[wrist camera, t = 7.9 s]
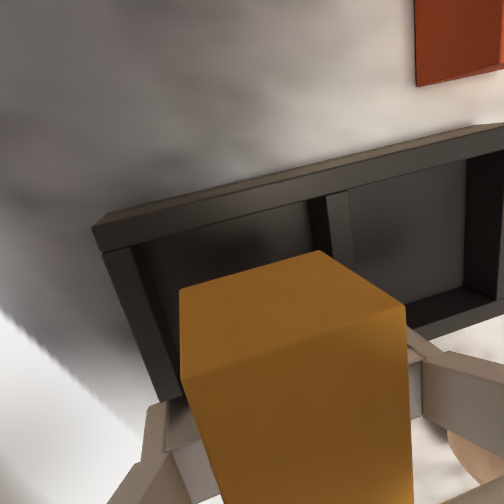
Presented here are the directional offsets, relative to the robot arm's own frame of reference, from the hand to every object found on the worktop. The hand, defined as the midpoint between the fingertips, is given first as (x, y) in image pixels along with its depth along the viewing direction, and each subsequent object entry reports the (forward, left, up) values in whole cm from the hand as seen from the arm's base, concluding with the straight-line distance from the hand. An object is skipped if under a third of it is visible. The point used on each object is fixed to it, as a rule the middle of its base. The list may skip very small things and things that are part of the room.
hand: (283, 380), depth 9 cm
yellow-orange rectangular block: (0, 0, -2) cm, 2 cm away
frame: (0, +4, -7) cm, 8 cm away
